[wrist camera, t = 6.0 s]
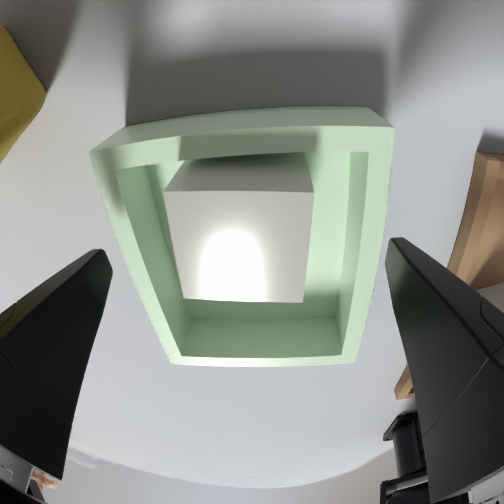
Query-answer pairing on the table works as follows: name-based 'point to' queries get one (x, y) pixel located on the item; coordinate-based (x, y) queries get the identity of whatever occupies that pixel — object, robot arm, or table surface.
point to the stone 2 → (242, 226)
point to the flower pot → (16, 93)
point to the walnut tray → (476, 237)
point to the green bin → (321, 239)
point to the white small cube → (494, 295)
